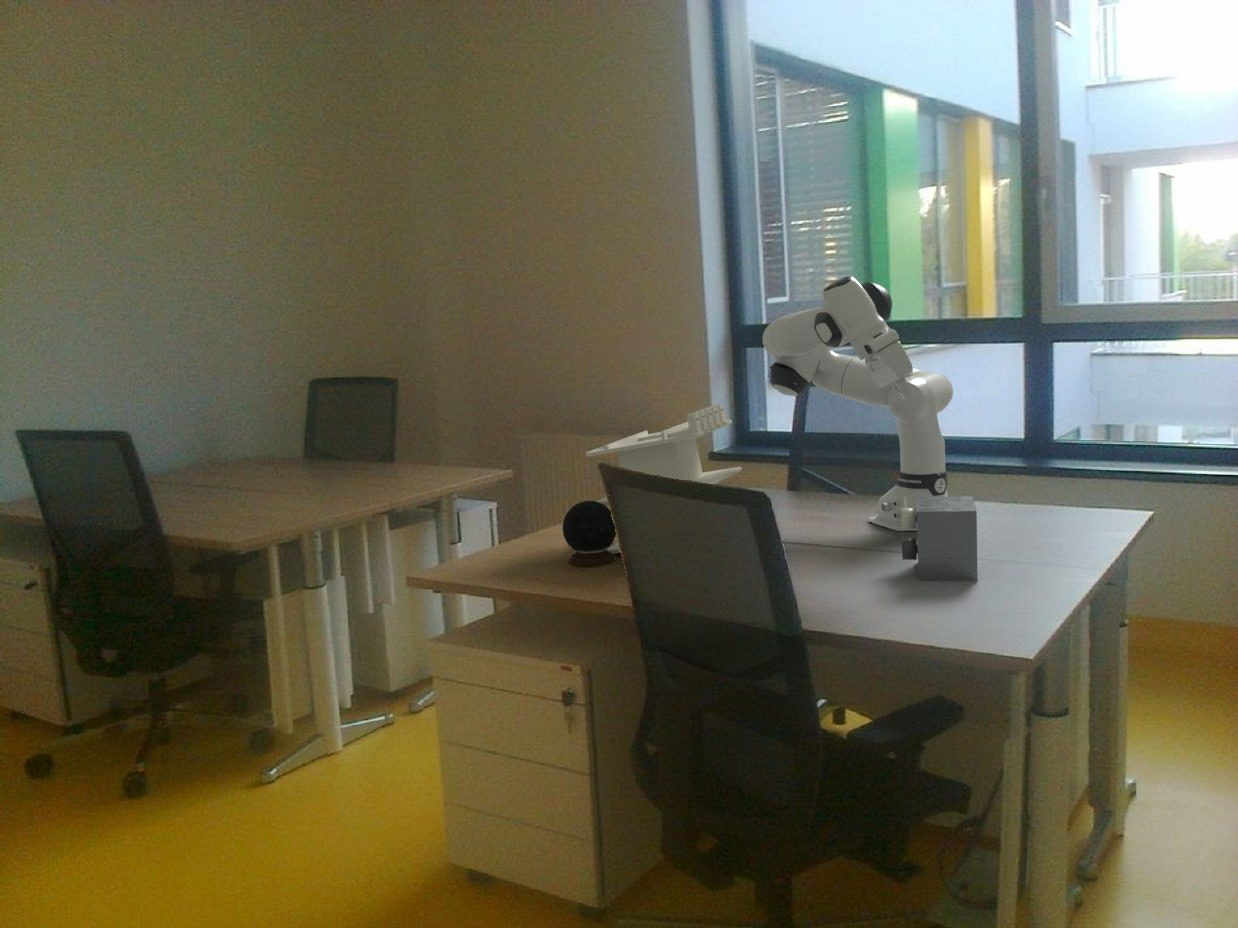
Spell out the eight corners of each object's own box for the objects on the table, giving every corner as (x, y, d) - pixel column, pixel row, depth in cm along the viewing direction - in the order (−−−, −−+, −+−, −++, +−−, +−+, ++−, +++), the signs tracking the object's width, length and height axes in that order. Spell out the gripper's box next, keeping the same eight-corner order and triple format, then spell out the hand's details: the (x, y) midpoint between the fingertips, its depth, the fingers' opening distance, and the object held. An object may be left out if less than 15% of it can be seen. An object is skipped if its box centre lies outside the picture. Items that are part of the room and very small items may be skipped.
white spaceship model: (722, 558, 275) (692, 414, 272) (606, 573, 288) (576, 435, 285) (755, 533, 299) (728, 401, 296) (647, 548, 312) (620, 421, 309)
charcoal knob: (902, 561, 248) (901, 541, 247) (902, 556, 253) (902, 536, 252) (950, 561, 246) (950, 540, 245) (950, 556, 250) (949, 535, 249)
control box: (918, 580, 246) (916, 511, 244) (918, 562, 262) (916, 497, 259) (977, 581, 243) (976, 511, 241) (973, 562, 259) (972, 496, 256)
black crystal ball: (568, 570, 274) (563, 508, 272) (562, 558, 287) (557, 498, 285) (623, 565, 276) (619, 503, 274) (614, 553, 289) (610, 494, 287)
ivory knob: (902, 530, 255) (901, 510, 254) (902, 526, 259) (901, 506, 259) (949, 530, 253) (948, 509, 252) (948, 526, 257) (948, 505, 256)
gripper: (852, 357, 265) (884, 408, 264) (872, 344, 244) (906, 400, 244) (875, 342, 265) (907, 394, 264) (897, 329, 244) (932, 385, 244)
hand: (907, 397), depth 254 cm, fingers closed
